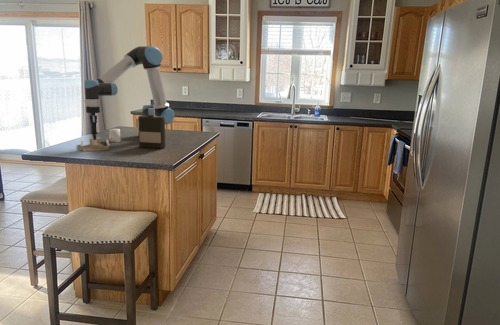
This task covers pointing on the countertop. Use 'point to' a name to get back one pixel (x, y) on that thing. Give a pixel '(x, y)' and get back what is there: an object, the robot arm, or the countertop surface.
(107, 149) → the wooden l-shaped bracket
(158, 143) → the bottle
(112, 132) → the white rounded capsule
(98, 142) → the oak block
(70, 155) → the countertop surface
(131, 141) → the countertop surface
